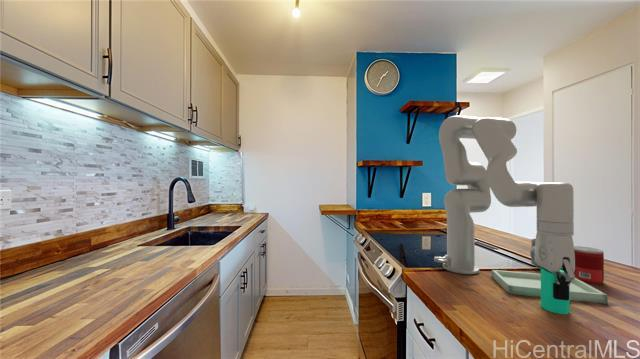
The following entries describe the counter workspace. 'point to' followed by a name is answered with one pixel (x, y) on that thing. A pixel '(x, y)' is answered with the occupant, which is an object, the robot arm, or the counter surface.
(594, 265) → the canned food
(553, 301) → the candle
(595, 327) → the counter surface
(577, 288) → the tray
